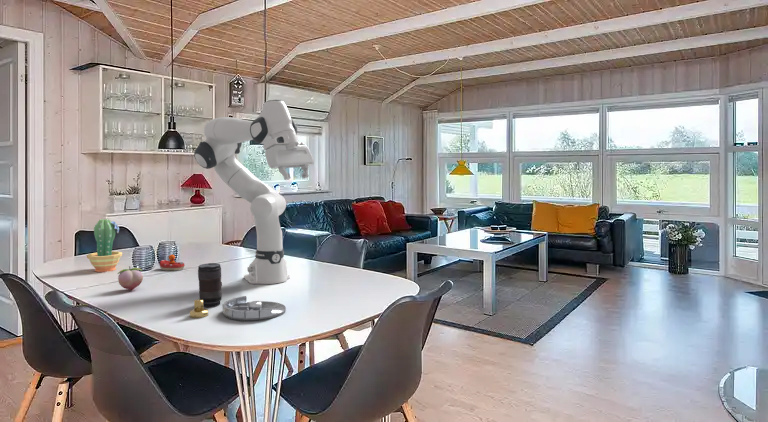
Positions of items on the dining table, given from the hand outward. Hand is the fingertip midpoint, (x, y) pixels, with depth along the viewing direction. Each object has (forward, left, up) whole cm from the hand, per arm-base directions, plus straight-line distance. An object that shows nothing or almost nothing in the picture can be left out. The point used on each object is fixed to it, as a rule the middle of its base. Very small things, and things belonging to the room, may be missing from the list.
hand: (297, 178), depth 182 cm
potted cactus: (-116, -42, -47) cm, 132 cm away
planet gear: (-12, -32, -47) cm, 58 cm away
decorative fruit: (-65, -42, -47) cm, 90 cm away
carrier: (-4, -15, -47) cm, 49 cm away
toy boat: (-97, -16, -47) cm, 110 cm away
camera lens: (-23, -24, -47) cm, 58 cm away
